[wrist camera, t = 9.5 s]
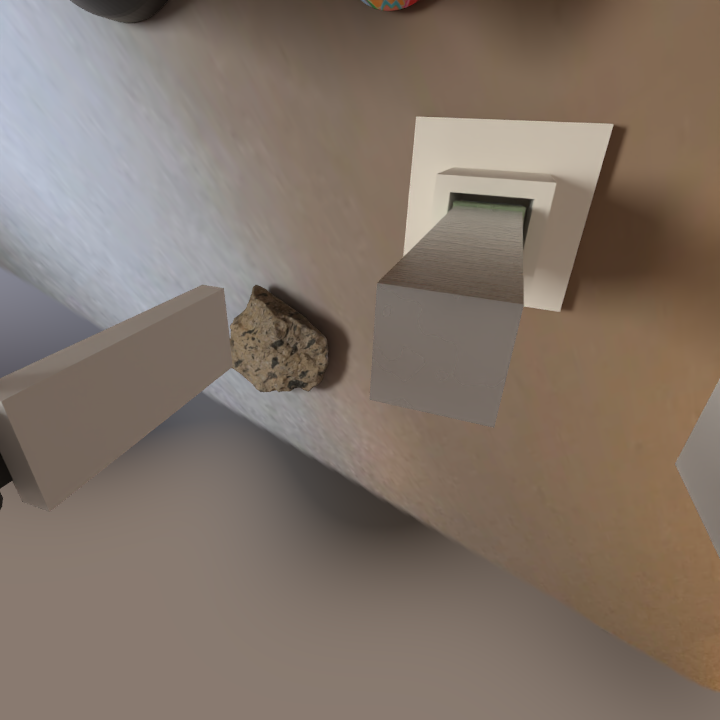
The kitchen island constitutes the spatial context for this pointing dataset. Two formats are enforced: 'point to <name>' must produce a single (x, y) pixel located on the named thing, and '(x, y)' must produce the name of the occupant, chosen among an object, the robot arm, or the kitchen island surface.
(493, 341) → the column
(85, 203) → the kitchen island surface
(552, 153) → the stand
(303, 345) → the rock
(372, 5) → the mug
